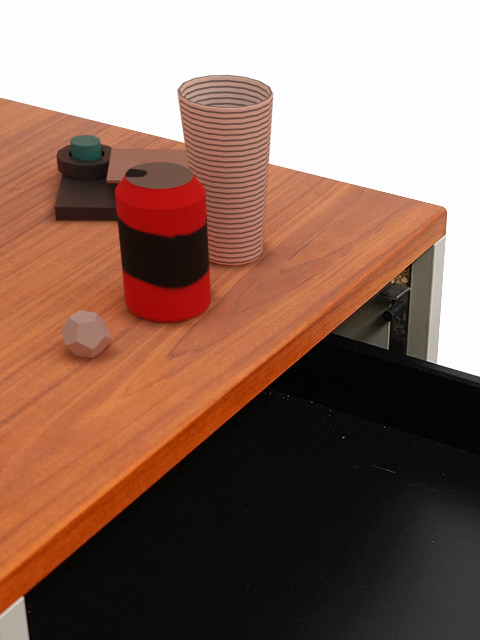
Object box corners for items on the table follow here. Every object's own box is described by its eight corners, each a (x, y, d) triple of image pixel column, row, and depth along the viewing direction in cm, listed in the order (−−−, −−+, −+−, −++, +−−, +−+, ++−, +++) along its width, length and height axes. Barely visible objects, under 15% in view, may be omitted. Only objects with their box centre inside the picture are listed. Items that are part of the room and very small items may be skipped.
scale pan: (106, 183, 137) (106, 179, 137) (111, 151, 143) (111, 148, 143) (189, 184, 138) (188, 180, 138) (190, 153, 144) (190, 149, 144)
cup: (174, 240, 135) (164, 79, 125) (257, 228, 138) (253, 70, 128) (203, 278, 129) (195, 112, 119) (289, 264, 133) (287, 102, 123)
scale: (51, 220, 137) (47, 191, 135) (62, 169, 146) (59, 141, 144) (200, 221, 139) (199, 192, 137) (202, 171, 148) (200, 144, 146)
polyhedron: (101, 365, 116) (97, 331, 114) (57, 359, 116) (52, 324, 114) (118, 343, 119) (114, 309, 117) (75, 337, 119) (71, 303, 117)
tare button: (70, 162, 141) (68, 145, 140) (73, 151, 143) (71, 134, 142) (100, 162, 142) (99, 146, 141) (102, 151, 144) (101, 134, 143)
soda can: (134, 281, 128) (123, 154, 120) (217, 287, 128) (211, 161, 120) (117, 321, 122) (104, 190, 114) (204, 326, 122) (196, 196, 115)
